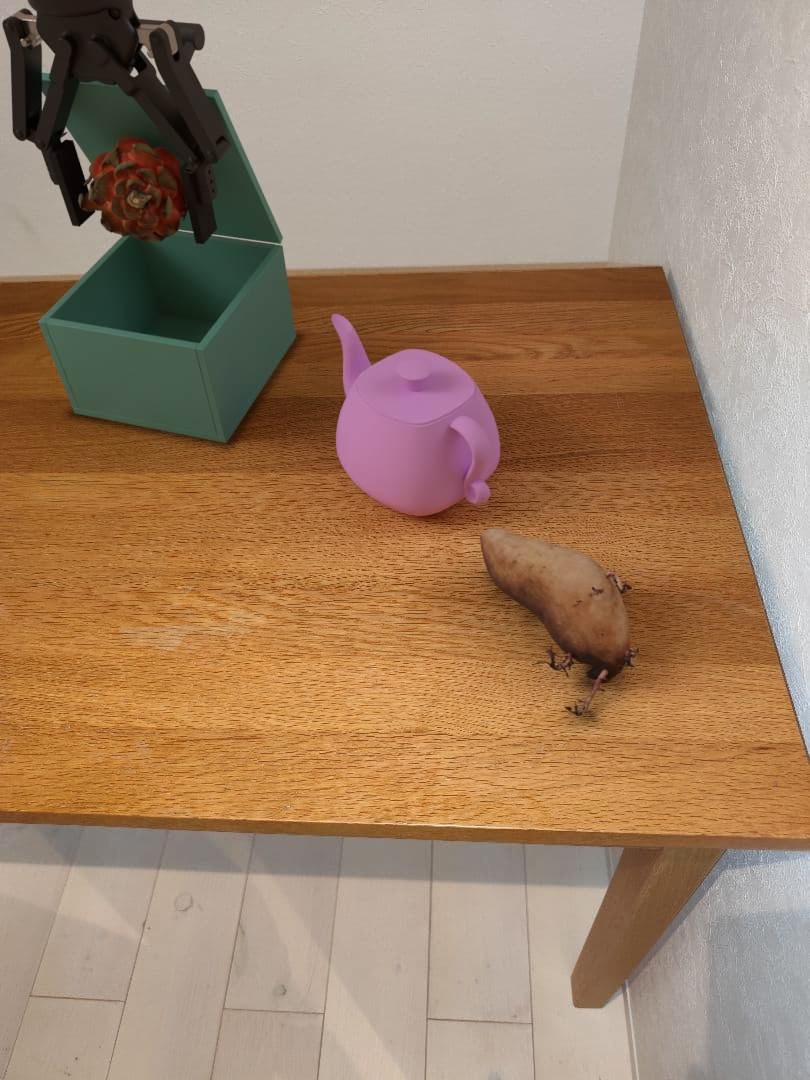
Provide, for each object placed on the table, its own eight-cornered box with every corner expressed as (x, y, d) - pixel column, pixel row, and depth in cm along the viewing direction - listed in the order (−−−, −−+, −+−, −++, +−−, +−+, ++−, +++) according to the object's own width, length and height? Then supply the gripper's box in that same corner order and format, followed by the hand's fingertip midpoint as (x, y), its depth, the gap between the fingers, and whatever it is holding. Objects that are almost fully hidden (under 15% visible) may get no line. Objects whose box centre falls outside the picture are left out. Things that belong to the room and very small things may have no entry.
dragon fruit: (177, 281, 76) (126, 244, 84) (234, 197, 75) (177, 167, 83) (94, 221, 70) (47, 187, 78) (154, 128, 69) (101, 103, 77)
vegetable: (402, 593, 68) (453, 485, 63) (487, 569, 76) (538, 471, 71) (556, 736, 60) (628, 625, 56) (632, 692, 69) (700, 592, 64)
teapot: (540, 486, 79) (552, 381, 71) (428, 564, 74) (426, 459, 65) (394, 383, 90) (389, 280, 81) (287, 445, 84) (268, 341, 75)
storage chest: (226, 443, 85) (203, 349, 77) (74, 413, 88) (37, 321, 80) (296, 336, 96) (282, 245, 88) (158, 314, 99) (133, 224, 91)
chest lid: (214, 97, 70) (250, 6, 72) (32, 79, 74) (73, -7, 76) (281, 244, 87) (308, 166, 90) (131, 223, 91) (161, 149, 93)
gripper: (242, -68, 62) (285, 222, 78) (-44, -84, 68) (51, 191, 84) (194, -34, 58) (250, 267, 74) (-110, -54, 63) (4, 231, 79)
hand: (144, 227), depth 79 cm, fingers closed on dragon fruit, 11 cm apart
